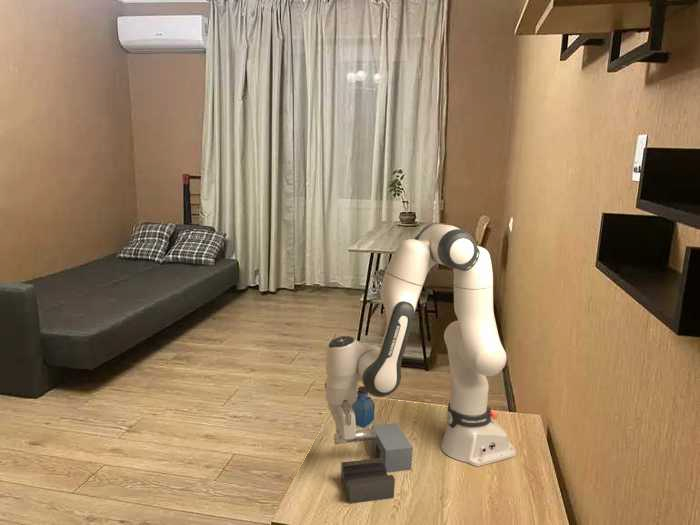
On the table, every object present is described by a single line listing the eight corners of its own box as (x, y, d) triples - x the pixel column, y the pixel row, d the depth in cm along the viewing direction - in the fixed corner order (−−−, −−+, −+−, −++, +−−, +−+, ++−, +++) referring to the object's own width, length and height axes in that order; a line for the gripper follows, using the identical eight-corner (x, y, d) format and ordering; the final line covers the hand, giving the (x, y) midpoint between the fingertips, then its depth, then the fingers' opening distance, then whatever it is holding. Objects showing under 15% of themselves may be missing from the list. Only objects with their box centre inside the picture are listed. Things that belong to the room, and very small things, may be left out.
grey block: (395, 443, 164) (396, 422, 162) (411, 469, 150) (412, 447, 149) (370, 445, 162) (371, 425, 160) (384, 472, 148) (385, 450, 147)
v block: (382, 475, 147) (383, 457, 146) (393, 497, 138) (394, 479, 137) (340, 480, 144) (341, 462, 143) (349, 503, 135) (350, 484, 134)
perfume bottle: (348, 422, 175) (349, 389, 173) (358, 415, 180) (360, 382, 178) (363, 428, 172) (365, 394, 169) (373, 420, 177) (375, 388, 174)
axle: (373, 436, 155) (373, 426, 154) (376, 441, 152) (376, 431, 151) (333, 441, 152) (333, 431, 151) (336, 446, 149) (336, 436, 148)
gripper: (362, 409, 139) (361, 456, 142) (344, 377, 158) (343, 419, 161) (338, 412, 137) (338, 459, 140) (323, 379, 156) (323, 421, 159)
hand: (341, 437), depth 151 cm, fingers closed on axle, 3 cm apart
